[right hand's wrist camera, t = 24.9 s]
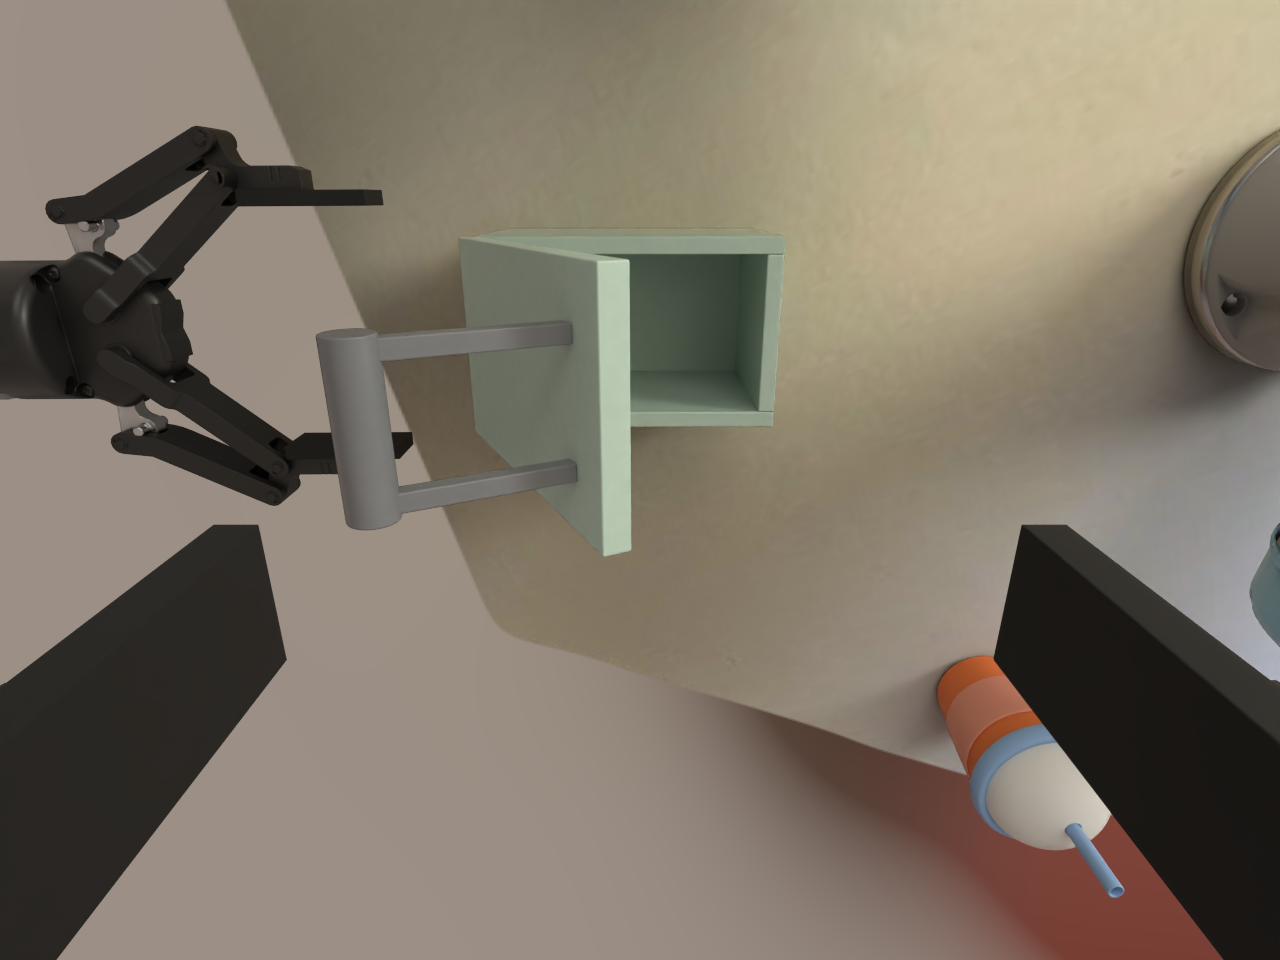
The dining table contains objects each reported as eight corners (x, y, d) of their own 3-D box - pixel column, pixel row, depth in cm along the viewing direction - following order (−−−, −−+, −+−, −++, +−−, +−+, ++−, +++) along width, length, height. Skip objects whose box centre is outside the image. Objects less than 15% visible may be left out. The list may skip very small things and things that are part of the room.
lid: (630, 259, 21) (311, 272, 18) (631, 551, 25) (365, 613, 21) (480, 237, 34) (280, 241, 31) (495, 429, 38) (317, 454, 34)
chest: (753, 228, 45) (785, 236, 35) (745, 379, 48) (772, 427, 38) (509, 228, 45) (472, 236, 35) (519, 380, 48) (487, 427, 38)
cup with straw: (910, 734, 58) (1019, 949, 42) (925, 638, 55) (1050, 830, 38) (1022, 734, 58) (1176, 949, 42) (1045, 638, 55) (1221, 829, 38)
